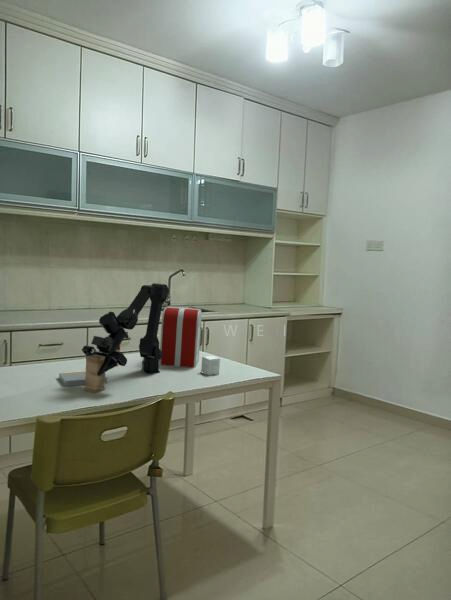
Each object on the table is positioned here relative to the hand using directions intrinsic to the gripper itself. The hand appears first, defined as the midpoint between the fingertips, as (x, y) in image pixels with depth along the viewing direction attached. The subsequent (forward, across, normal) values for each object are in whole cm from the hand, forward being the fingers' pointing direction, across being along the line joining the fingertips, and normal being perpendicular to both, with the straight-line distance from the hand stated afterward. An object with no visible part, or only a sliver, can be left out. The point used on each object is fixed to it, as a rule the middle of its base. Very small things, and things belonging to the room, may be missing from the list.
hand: (92, 373), depth 171 cm
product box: (-32, +22, +42) cm, 57 cm away
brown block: (+4, 0, +6) cm, 7 cm away
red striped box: (-38, 0, +47) cm, 61 cm away
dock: (-1, -12, +10) cm, 16 cm away
